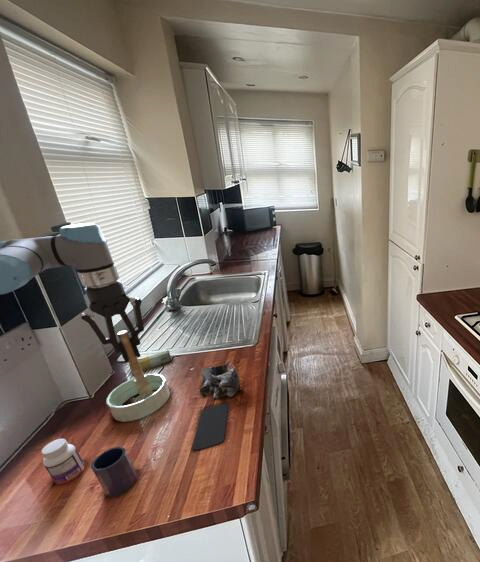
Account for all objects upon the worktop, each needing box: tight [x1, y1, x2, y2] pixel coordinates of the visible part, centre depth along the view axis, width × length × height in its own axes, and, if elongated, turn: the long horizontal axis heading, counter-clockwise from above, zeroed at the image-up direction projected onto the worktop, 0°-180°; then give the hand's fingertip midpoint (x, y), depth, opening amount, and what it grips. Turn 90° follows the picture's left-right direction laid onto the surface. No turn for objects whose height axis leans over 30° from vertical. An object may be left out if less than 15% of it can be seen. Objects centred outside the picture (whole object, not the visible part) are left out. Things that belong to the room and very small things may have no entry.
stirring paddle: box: [116, 329, 154, 398], centre depth 90 cm, size 3×2×22 cm
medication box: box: [128, 350, 173, 375], centre depth 110 cm, size 12×3×4 cm, turn 129°
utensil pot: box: [90, 446, 138, 498], centre depth 68 cm, size 6×6×9 cm
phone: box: [192, 403, 229, 451], centre depth 84 cm, size 7×1×15 cm
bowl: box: [106, 373, 171, 423], centre depth 92 cm, size 14×14×6 cm
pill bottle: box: [41, 438, 86, 485], centre depth 71 cm, size 5×5×10 cm
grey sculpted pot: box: [199, 361, 241, 399], centre depth 98 cm, size 12×11×15 cm
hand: (131, 357), depth 89 cm, fingers closed on stirring paddle, 2 cm apart
